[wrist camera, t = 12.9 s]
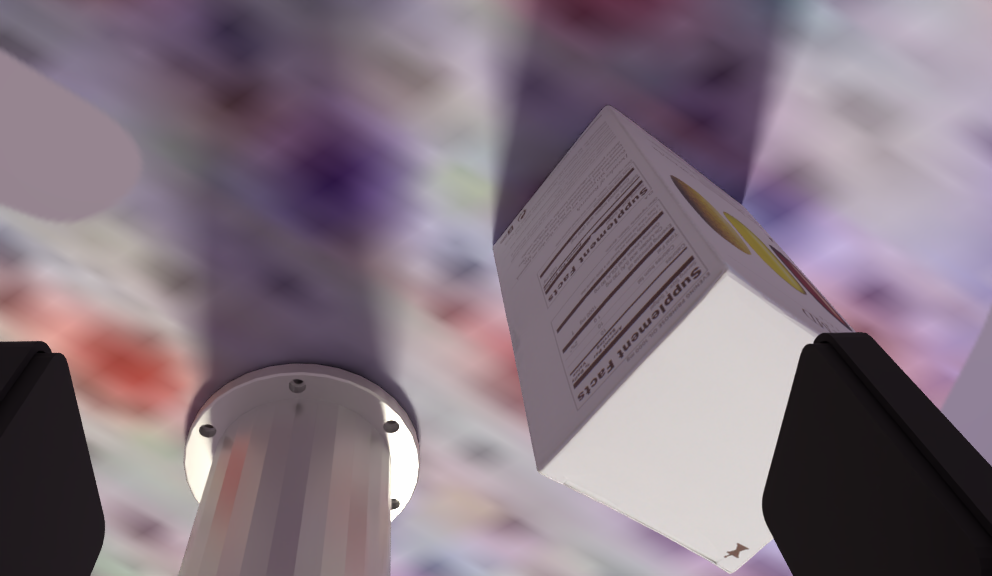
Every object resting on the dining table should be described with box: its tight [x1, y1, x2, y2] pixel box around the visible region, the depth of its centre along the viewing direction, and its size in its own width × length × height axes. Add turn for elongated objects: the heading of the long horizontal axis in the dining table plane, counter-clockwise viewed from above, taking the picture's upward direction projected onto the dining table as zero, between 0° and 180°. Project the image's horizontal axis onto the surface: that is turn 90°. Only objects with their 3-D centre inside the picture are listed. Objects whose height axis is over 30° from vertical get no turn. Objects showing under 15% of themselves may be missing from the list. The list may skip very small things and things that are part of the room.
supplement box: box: [493, 105, 855, 573], centre depth 34 cm, size 10×9×17 cm
